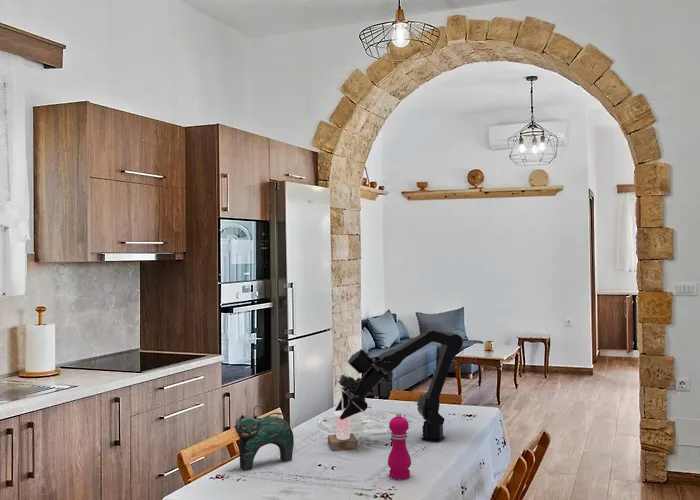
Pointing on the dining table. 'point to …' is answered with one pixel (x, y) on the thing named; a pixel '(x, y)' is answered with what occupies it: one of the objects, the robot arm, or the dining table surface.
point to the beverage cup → (342, 425)
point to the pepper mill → (399, 448)
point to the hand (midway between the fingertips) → (338, 415)
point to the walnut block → (342, 443)
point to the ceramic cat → (263, 437)
